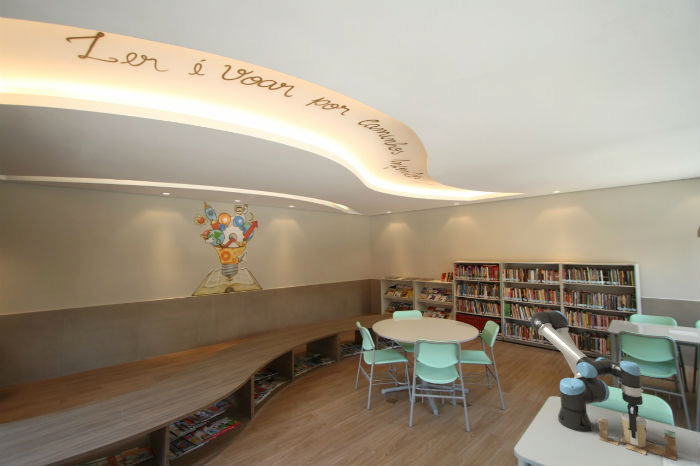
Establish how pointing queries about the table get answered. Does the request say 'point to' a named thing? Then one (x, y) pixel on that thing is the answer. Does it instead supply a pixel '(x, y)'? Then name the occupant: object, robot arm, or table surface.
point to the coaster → (654, 437)
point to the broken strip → (604, 437)
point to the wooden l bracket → (666, 452)
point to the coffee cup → (640, 429)
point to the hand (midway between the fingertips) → (635, 439)
